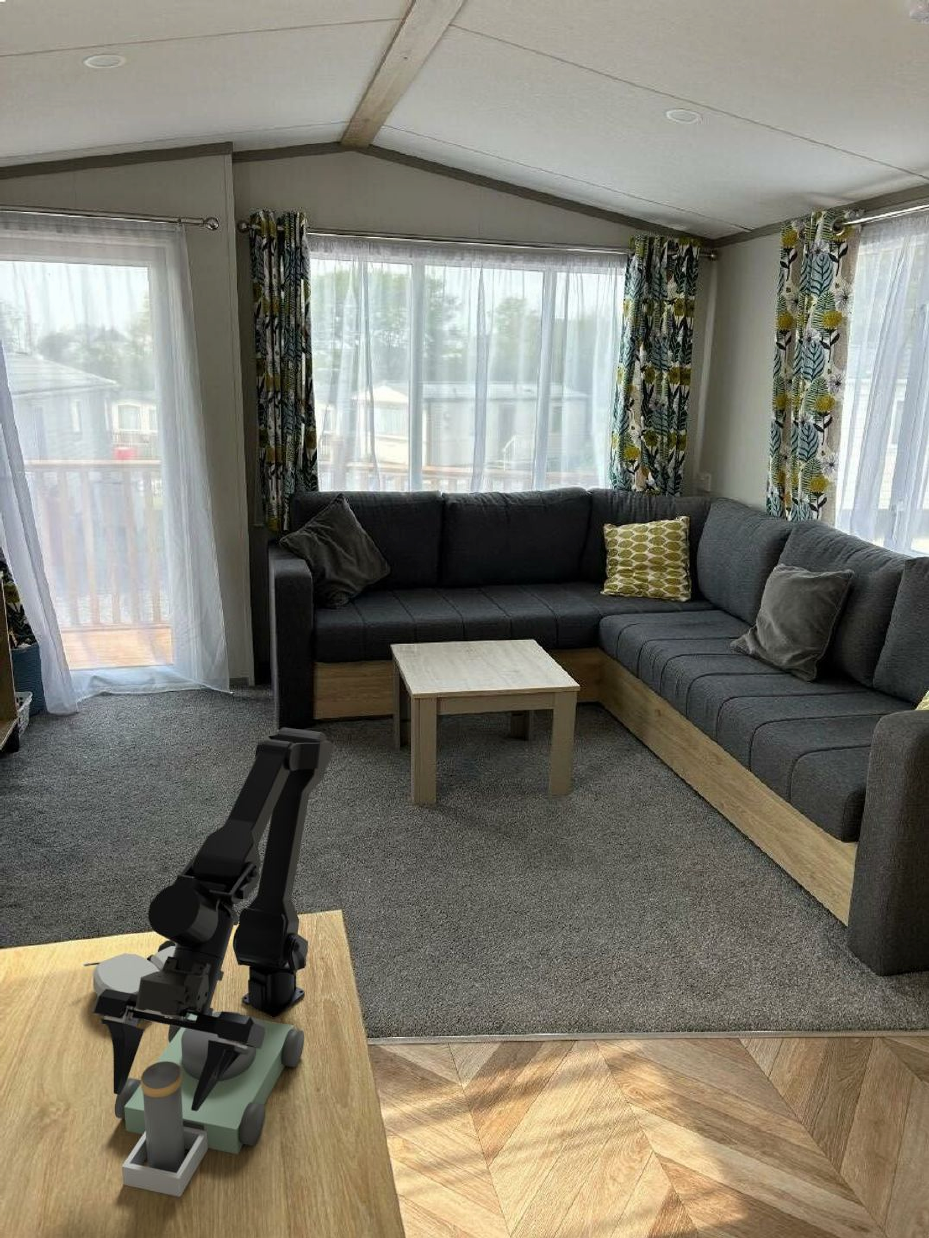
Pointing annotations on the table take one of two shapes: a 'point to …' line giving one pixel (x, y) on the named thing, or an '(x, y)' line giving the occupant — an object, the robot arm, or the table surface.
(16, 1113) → the table surface
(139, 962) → the robot toy
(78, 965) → the table surface
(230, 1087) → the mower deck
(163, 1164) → the grey banded cylinder
